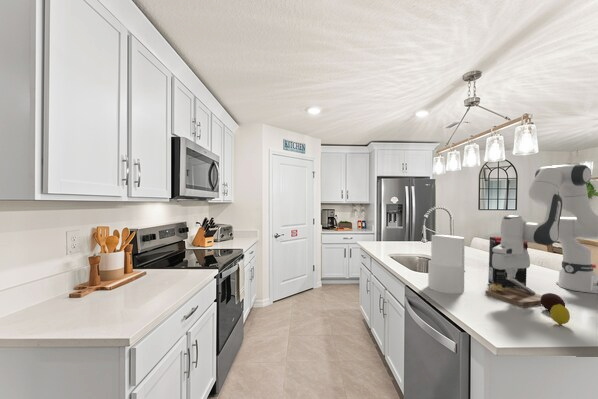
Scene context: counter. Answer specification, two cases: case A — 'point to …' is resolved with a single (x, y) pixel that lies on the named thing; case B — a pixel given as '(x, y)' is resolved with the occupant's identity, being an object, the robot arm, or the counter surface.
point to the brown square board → (516, 297)
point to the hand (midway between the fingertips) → (511, 277)
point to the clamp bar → (521, 285)
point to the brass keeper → (497, 287)
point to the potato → (551, 300)
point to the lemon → (560, 314)
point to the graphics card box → (501, 275)
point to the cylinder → (446, 264)
